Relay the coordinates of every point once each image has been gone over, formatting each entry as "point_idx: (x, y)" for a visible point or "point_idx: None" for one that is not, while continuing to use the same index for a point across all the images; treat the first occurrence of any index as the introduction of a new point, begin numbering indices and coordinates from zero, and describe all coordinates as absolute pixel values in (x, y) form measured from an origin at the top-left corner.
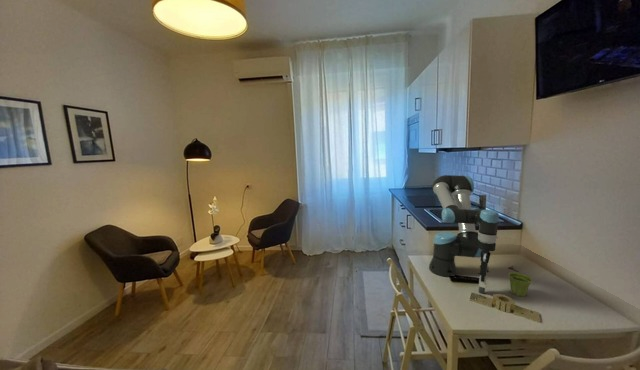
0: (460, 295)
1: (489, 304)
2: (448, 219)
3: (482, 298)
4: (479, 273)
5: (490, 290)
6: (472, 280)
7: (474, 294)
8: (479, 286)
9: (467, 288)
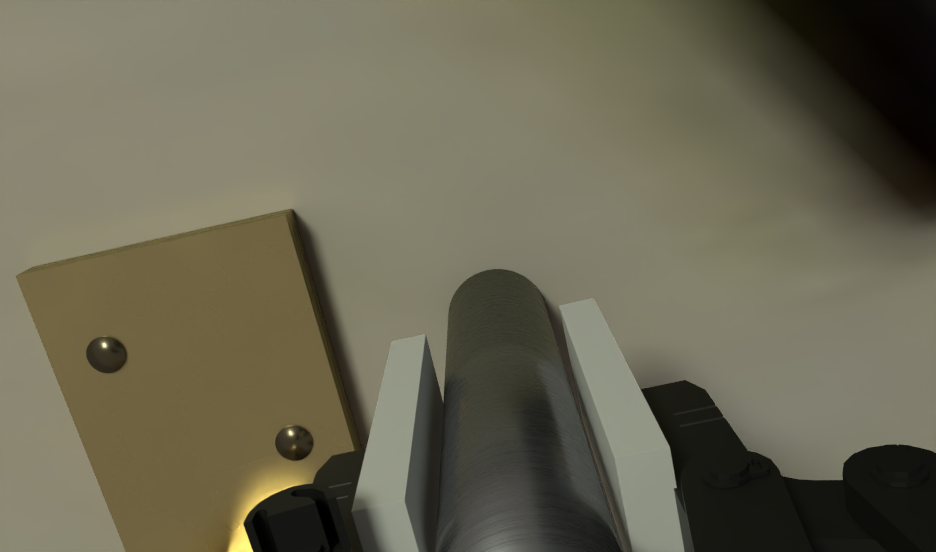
0: (47, 89)
1: (136, 544)
2: None
3: (234, 417)
4: (278, 543)
5: (710, 395)
6: (906, 19)
7: (250, 281)
8: (462, 327)
9: (445, 79)
